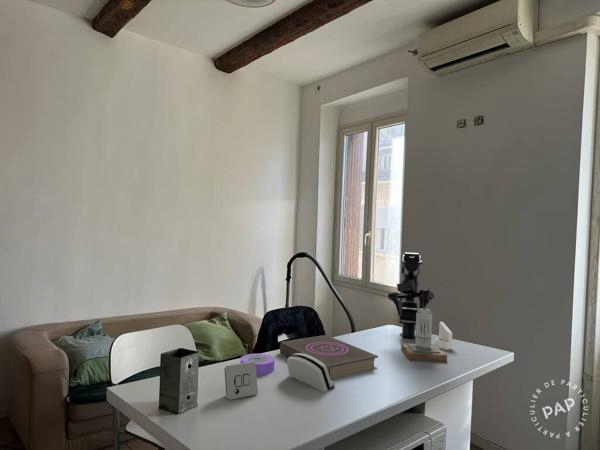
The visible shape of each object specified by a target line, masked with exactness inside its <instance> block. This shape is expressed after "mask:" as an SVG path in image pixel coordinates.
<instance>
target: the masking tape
mask: <svg viewBox="0 0 600 450" xmlns="http://www.w3.org/2000/svg"><path fill="white" fill-rule="evenodd" d="M275 361H276V360H275V357H273V356H272V355H270V354H265V353H249V354H244V355H242V356H241V357H240V361H239V362H240V363H247V362H255V364H256V375H257V376H265V375H269V374H271V373H273V372H274V371H275V364H276V363H275ZM240 363H239V364H240Z"/></svg>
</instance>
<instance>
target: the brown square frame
mask: <svg viewBox="0 0 600 450" xmlns="http://www.w3.org/2000/svg"><path fill="white" fill-rule="evenodd" d="M400 350H401V351H402V352H403V353H404V355H405V356H406V358H407V359H408V360H409V361H412V360H417V362H440V363H441V362H442V363H443V362H445V363H447V362H448V354H446V352H444V350H443V349H442V348H439V347H438V346H437V345H436V344H435V343H434V344H433V343H431V347H430V348H429V349H420V348H417V346H416V345H415V343H405V342H403V343H402V342H401V343H400Z"/></svg>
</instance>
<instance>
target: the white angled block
mask: <svg viewBox="0 0 600 450" xmlns="http://www.w3.org/2000/svg"><path fill="white" fill-rule="evenodd" d="M434 344H436V345H437V346H438V347H439V348H440V349H441V350H443V351H444V350H445V351H446V350H452V349H453V348H452V347H453V332H452V331H451V329H450V328H449V327H448V326H447V325H446V324H445V323H444V322H443V321H439V324H438V338H437V337H436V338H435V342H434Z"/></svg>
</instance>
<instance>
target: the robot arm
mask: <svg viewBox="0 0 600 450" xmlns="http://www.w3.org/2000/svg"><path fill="white" fill-rule="evenodd" d="M421 265H423V258H422V256H421V255H420V253H419V252H404V254H402V263H401V274H402V277H403V278H402V279H403V280H402V282H401V283H396V290H397V291H393V292H390V291H389V293H388V294H387V299H388V300H390V301H391V302H393V303H394V305H395V307H396V311H397V314H398V316H399V324H401V326H402V327H401V328H402V330H401V331H402V332H401V333H399V335H400V337H402V338H403V339H415V338H416V313H417V311H418V309H419V308H426V307H427V305H428V304H429V303H430V302H432V300H435V294H434V292H433V291H431V290H430V289H428V288H425V289H423V288H422V289H419V291H418V288H419V286H420V284H419V275H420V269H421V268H420V266H421ZM399 292H400V293H399ZM416 298H418V300H419V305H418V303H417V302H415V299H416ZM403 299H405V301H403ZM418 306H419V307H418Z"/></svg>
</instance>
